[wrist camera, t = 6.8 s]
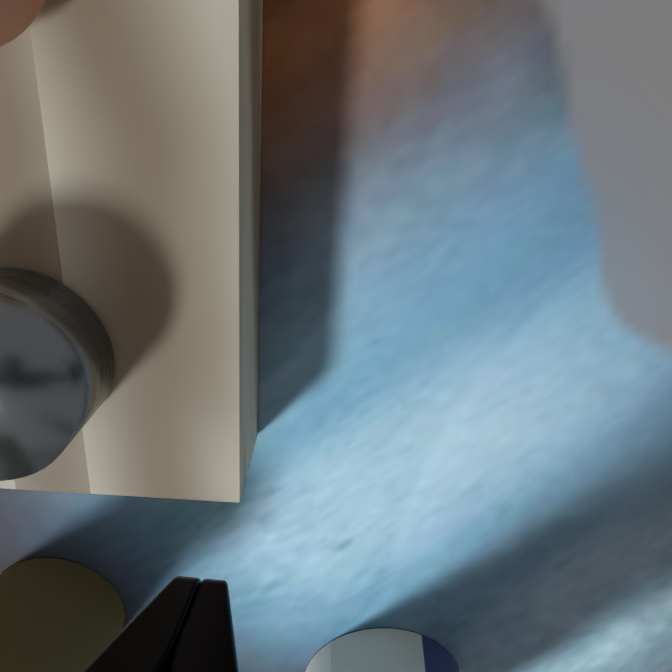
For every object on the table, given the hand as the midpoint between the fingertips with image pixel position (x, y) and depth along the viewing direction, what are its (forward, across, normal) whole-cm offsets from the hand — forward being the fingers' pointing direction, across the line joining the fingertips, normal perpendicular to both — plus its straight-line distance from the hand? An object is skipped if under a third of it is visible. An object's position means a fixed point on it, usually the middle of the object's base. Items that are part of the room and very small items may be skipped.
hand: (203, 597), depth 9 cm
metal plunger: (+11, +7, 0) cm, 13 cm away
